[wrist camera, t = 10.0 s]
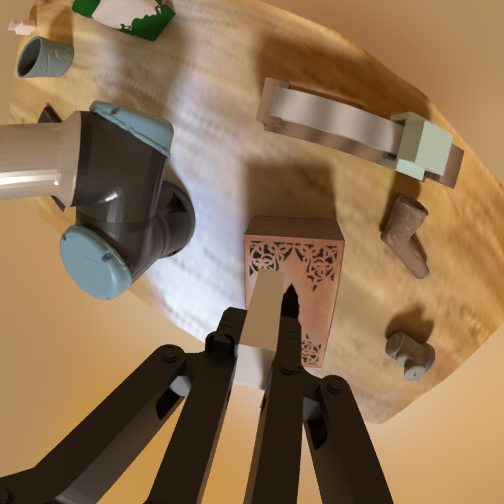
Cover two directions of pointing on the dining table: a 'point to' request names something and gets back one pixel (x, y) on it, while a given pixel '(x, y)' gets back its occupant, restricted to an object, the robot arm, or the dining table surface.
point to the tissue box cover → (299, 273)
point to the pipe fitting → (410, 355)
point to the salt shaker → (22, 26)
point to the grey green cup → (44, 58)
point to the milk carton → (128, 15)
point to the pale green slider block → (419, 147)
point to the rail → (335, 138)
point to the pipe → (406, 233)
